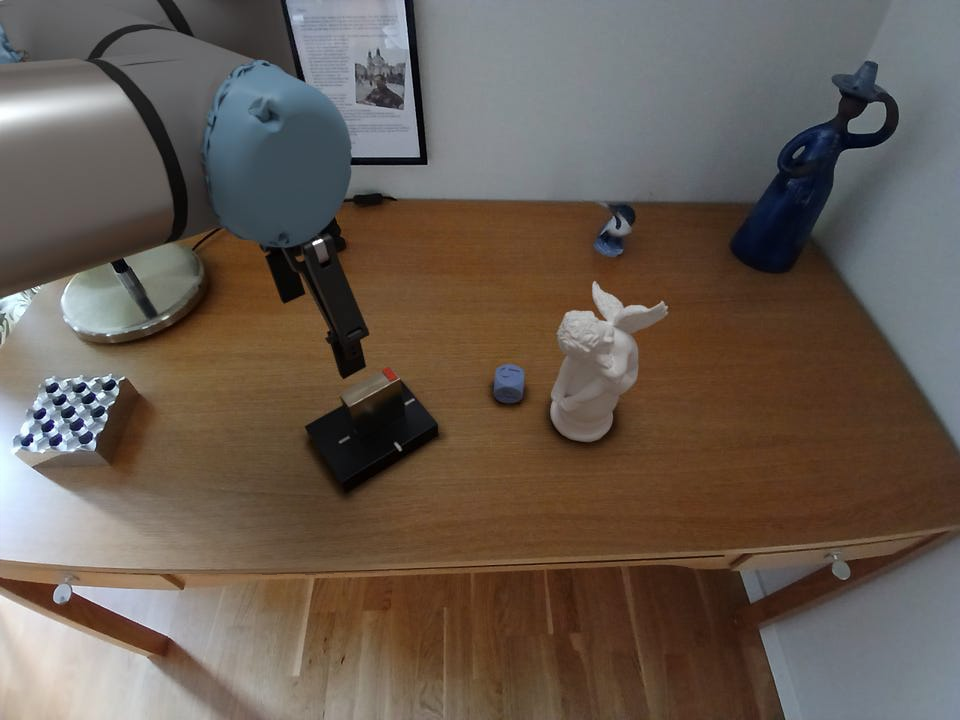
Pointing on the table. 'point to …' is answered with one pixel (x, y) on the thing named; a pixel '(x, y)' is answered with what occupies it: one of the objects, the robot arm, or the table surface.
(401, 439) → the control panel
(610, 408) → the cherub figurine
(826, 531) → the table surface
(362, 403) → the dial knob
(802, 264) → the table surface
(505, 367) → the decorative dice
